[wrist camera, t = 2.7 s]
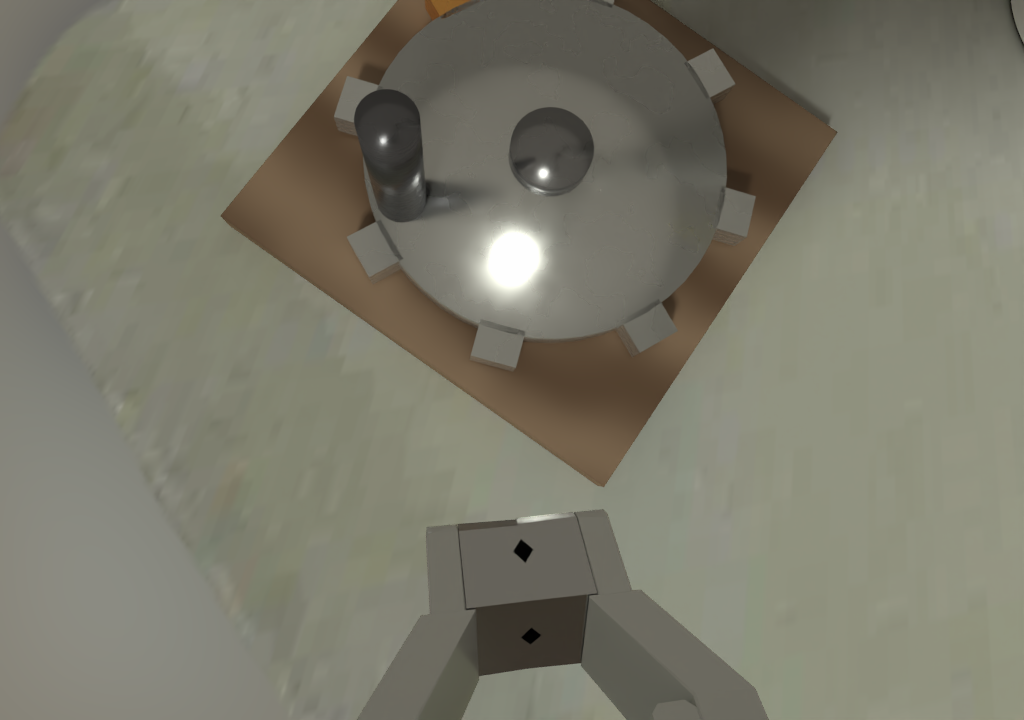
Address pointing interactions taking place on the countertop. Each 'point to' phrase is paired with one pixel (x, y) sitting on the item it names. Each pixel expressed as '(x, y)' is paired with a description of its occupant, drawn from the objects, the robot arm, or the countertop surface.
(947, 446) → the countertop surface
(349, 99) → the sprocket
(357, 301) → the sprocket base
